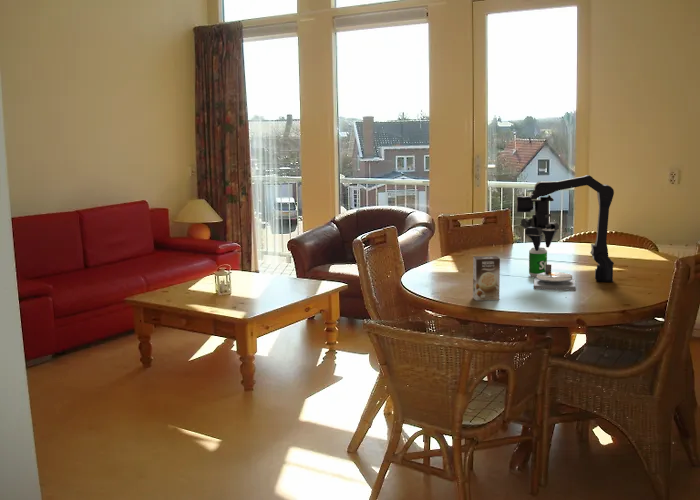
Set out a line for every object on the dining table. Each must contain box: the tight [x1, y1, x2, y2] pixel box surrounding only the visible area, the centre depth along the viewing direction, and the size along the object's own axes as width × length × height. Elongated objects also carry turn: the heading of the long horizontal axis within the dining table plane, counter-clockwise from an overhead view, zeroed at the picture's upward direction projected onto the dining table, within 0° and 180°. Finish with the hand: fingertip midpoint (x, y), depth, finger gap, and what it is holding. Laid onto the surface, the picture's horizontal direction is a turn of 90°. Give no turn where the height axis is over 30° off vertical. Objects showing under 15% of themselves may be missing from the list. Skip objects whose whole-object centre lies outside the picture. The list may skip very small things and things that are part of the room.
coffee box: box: [472, 255, 501, 301], centre depth 283 cm, size 9×6×16 cm
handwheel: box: [536, 263, 573, 282], centre depth 302 cm, size 14×14×5 cm
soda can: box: [528, 246, 548, 278], centre depth 322 cm, size 8×8×12 cm
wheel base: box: [533, 277, 576, 291], centre depth 303 cm, size 16×15×3 cm
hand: (542, 249), depth 311 cm, fingers open, 9 cm apart
